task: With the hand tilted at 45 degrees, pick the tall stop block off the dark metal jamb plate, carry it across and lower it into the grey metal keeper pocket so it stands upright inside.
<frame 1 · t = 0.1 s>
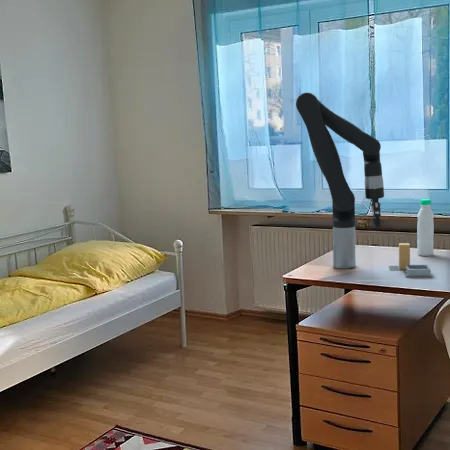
hand: (376, 225, 268), 17 cm above the table, tool pointing down, fingers open, 8 cm apart
jamb plate: (404, 269, 263), on the table
keeper: (417, 275, 252), on the table
stop block: (404, 268, 263), resting on jamb plate
water bottle: (425, 255, 290), on the table
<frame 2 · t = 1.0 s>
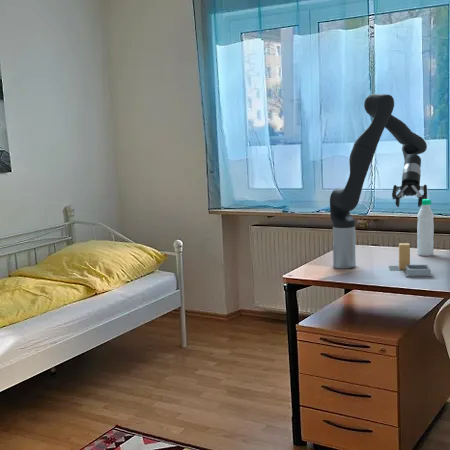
hand: (408, 205, 270), 25 cm above the table, tool tilted 45°, fingers open, 8 cm apart
nothing on the table moved.
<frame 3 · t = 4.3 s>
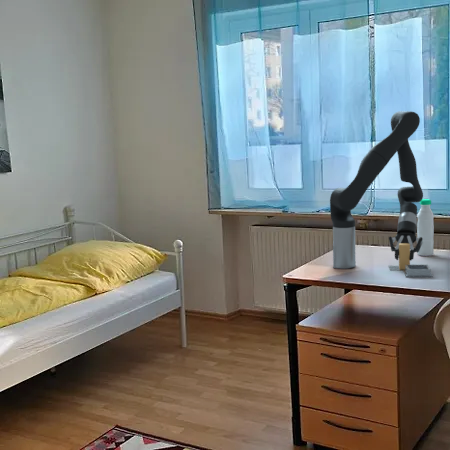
hand: (403, 259, 261), 5 cm above the table, tool tilted 45°, fingers closed on stop block, 4 cm apart
stop block: (404, 268, 263), resting on jamb plate, touching gripper
everything else where it was.
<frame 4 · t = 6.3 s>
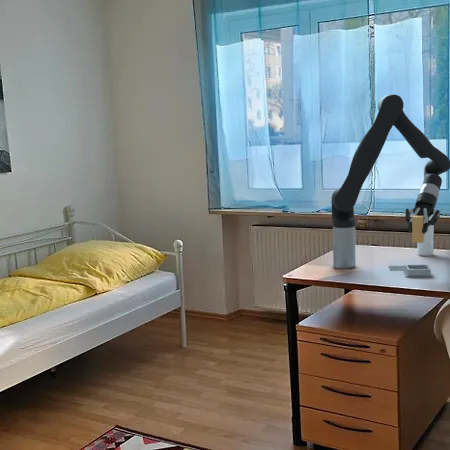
hand: (416, 232, 249), 17 cm above the table, tool tilted 45°, fingers closed on stop block, 4 cm apart
stop block: (418, 241, 252), point 13 cm above the table, touching gripper
everything else where it was.
when the fingers open (7 cm above the table, at t = 8.8 s): stop block drops 2 cm, resting on keeper.
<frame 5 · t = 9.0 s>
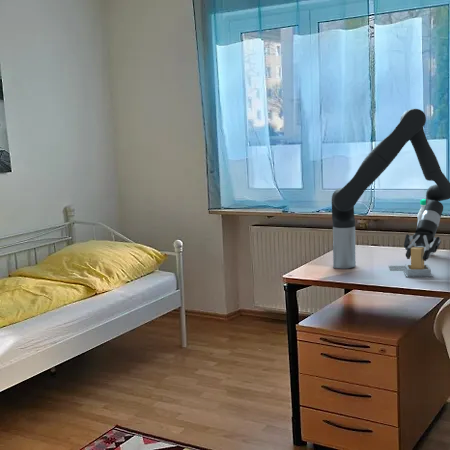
hand: (415, 258, 250), 7 cm above the table, tool tilted 45°, fingers open, 6 cm apart
stop block: (417, 273, 252), point 1 cm above the table, touching keeper
everything else where it was.
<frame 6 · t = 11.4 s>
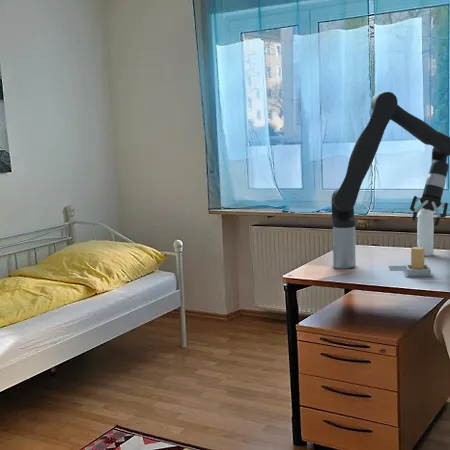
hand: (424, 224, 263), 18 cm above the table, tool tilted 20°, fingers open, 8 cm apart
nothing on the table moved.
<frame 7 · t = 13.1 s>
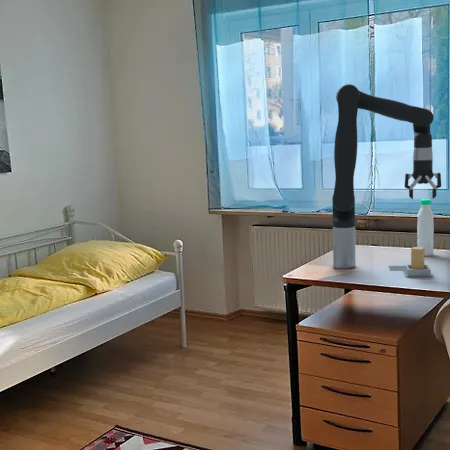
hand: (422, 198, 265), 28 cm above the table, tool pointing down, fingers open, 8 cm apart
nothing on the table moved.
at the end: stop block 0.1 cm off-centre on the keeper, point 0.8 cm above the keeper's base; stop block tilted 0°; the gripper is holding nothing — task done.
